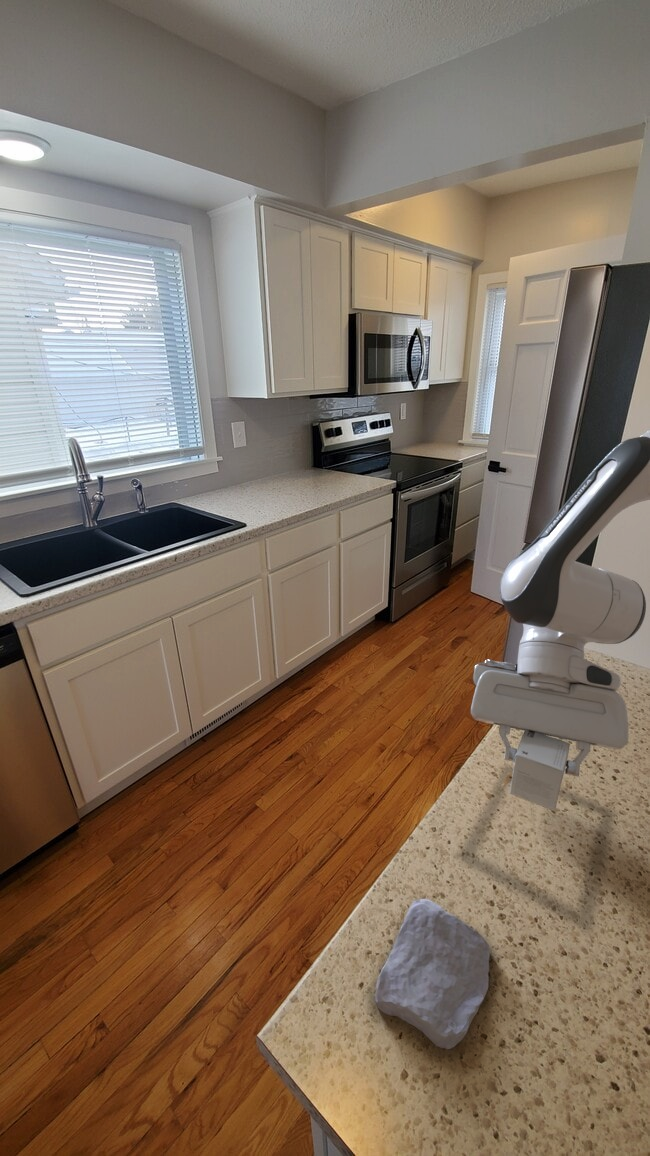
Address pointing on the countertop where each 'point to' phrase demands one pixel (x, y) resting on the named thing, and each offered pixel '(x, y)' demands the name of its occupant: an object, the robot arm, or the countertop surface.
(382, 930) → the countertop surface
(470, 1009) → the stone block
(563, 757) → the product carton
